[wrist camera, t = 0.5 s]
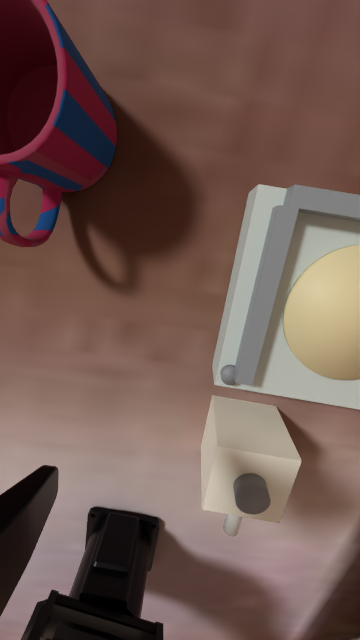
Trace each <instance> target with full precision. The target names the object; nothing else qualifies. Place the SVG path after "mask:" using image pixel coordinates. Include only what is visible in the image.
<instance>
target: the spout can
mask: <svg viewBox="0 0 360 640" xmlns="http://www.w3.org/2000/svg"><path fill="white" fill-rule="evenodd" d="M301 462H302V460H301V458H300V456H299V454H298V452H297V450H296V448H295V445H294V443H293V441H292V439H291V437H290V435H289V433H288V431H287V428H286V426H285V424H284V422H283V420H282V418H281V416H280V414H279V411H278V409H277V407H276V406H272V405H266V404H260V403H254V402H248V401H242V400H237V399H231V398H225V397H219V396H213V395H212V399H211V404H210V408H209V413H208V417H207V422H206V426H205V431H204V436H203V440H202V445H201V480H202V510H207V511H213V512H219V513H224V514H227V515H226V519H225V523H224V531H225V532H226V533H227V534H228V535H229V536H236V535H237V533H238V530H239V526H240V523H241V520H242V517H247V518H253V519H258V520H264V521H270V522H275V523H280V520H281V517H282V515H283V512H284V509H285V506H286V504H287V501H288V498H289V495H290V492H291V490H292V487H293V484H294V481H295V479H296V476H297V473H298V470H299V467H300V465H301Z"/></svg>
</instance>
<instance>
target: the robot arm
mask: <svg viewBox="0 0 360 640" xmlns="http://www.w3.org/2000/svg"><path fill="white" fill-rule="evenodd" d="M57 492H58V468H57V467H55V466H48V465H43V466H41V467H40V468H38V469H37V470H35V471H34V472H33V473H31V474H30V475H28V476H27V477H25V478H24V479H23V480H21V481H20V482H18V483H17V484H15V485H14V486H13V487H11V488H10V489H8V490H7V491H5V492H4V493H3V494H1V495H0V616H1V614H2V612H3V610H4V608H5V607H6V605H7V603H8V601H9V599H10V597H11V595H12V593H13V591H14V589H15V588H16V586H17V584H18V582H19V580H20V578H21V576H22V574H23V572H24V570H25V568H26V566H27V564H28V562H29V560H30V558H31V556H32V553H33V551H34V549H35V547H36V544H37V542H38V539H39V537H40V535H41V532H42V530H43V527H44V525H45V523H46V520H47V518H48V516H49V513H50V511H51V508H52V506H53V504H54V501H55V499H56V496H57ZM159 523H160V522H159V520H158V519H157V518H153V517H147V516H141V515H136V514H130V513H124V512H119V511H113V510H107V509H102V508H96V507H93V508H91V509H90V511H89V513H88V521H87V533H86V546H85V552H84V555H83V558H82V561H81V564H80V566H79V569H78V572H77V575H76V578H75V580H74V583H73V586H72V589H71V592H70V594H69V596H66V595H63V594H59V591H56V590H51V593H50V595H49V597H48V600H47V599H46V600H44V601H40V602H37V605H36V607H35V609H34V612H33V614H32V616H31V618H30V621H29V623H28V625H27V627H26V630H25V632H24V634H23V636H22V638H21V640H163V623H160V622H155V623H154V622H150V621H147V620H144V619H141V618H140V617H141V611H142V604H143V597H144V590H145V584H146V577H147V572H148V571H150V570H151V568H152V562H153V557H154V551H155V546H156V541H157V535H158V530H159Z"/></svg>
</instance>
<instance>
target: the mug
mask: <svg viewBox="0 0 360 640" xmlns="http://www.w3.org/2000/svg"><path fill="white" fill-rule="evenodd" d="M116 143H117V127H116V120H115V116H114V113H113V109H112V106H111V104H110V102H109V100H108V98H107V96H106V94H105V93H104V91H103V90H102V88H101V86H100V85H99V83H98V82H97V80H96V79H95V77H94V75H93V74H92V72H91V71H90V69H89V67H88V66H87V64H86V63H85V61H84V59H83V58H82V56H81V55H80V53H79V51H78V50H77V48H76V47H75V45H74V43H73V42H72V40H71V39H70V37H69V36H68V34H67V32H66V31H65V29H64V28H63V26H62V24H61V23H60V21H59V20H58V18H57V16H56V15H55V13H54V12H53V10H52V8H51V7H50V5H49V4H48V2H47V1H46V0H0V238H1V239H2V240H3V241H5V242H7V243H9V244H13V245H16V246H20V247H35V246H38V245H41V244H43V243H44V242H45V241H47V240H48V238H49V236H50V235H51V233H52V232H53V229H54V227H55V224H56V221H57V217H58V213H59V209H60V203H61V197H62V192H76V191H81V190H83V189H86V188H88V187H90V186H92V185H93V184H95V183H96V182H97V181H98V180H99V179H101V178H102V176H103V175H104V174H105V173H106V171H107V170H108V168H109V166H110V164H111V162H112V160H113V157H114V153H115V150H116ZM18 179H21V180H24V181H27V182H30V183H33V184H36V185H38V186H40V187H41V188H43V201H42V209H41V214H40V217H39V220H38V223H37V225H36V227H35V229H34V230H33V231H32V233H30V234H29V235H27V236H24V237H21V236H20V235H19V234H18V233H17V232H16V231H15V229H14V227H13V225H12V222H11V217H10V197H11V193H12V189H13V187H14V185H15V184H16V182H17V180H18Z"/></svg>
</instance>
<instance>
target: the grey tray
mask: <svg viewBox="0 0 360 640" xmlns="http://www.w3.org/2000/svg"><path fill="white" fill-rule="evenodd" d="M212 368H213V377H214V385H219V386H225V387H231V388H237V389H242V390H248V391H254V392H260V393H266V394H272V395H278V396H283V397H289V398H295V399H301V400H307V401H313V402H318V403H324V404H330V405H336V406H342V407H348V408H354V409H359V410H360V195H356V194H350V193H344V192H338V191H331V190H325V189H319V188H313V187H307V186H301V185H293V186H291V187H289V188H288V189H285V188H278V187H272V186H266V185H260V184H258V185H257V186H256V187H255V188H254V189H253V190H252V191H250V192H249V194H248V199H247V204H246V209H245V213H244V218H243V223H242V227H241V232H240V237H239V242H238V246H237V251H236V256H235V260H234V265H233V270H232V275H231V279H230V284H229V289H228V293H227V298H226V303H225V308H224V312H223V317H222V322H221V326H220V331H219V336H218V341H217V345H216V350H215V355H214V359H213V364H212Z"/></svg>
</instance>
